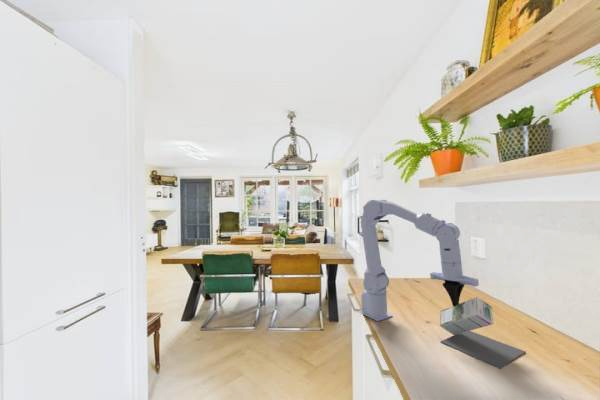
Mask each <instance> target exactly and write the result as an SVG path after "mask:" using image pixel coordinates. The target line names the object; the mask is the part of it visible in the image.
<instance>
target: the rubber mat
mask: <svg viewBox="0 0 600 400" xmlns="http://www.w3.org/2000/svg"><path fill="white" fill-rule="evenodd" d="M440 343H442V344H444V345H446V346H448V347H451V348H453V349H454V350H458V351H460V352H461V353H464V354H465V355H466V354H467V355H468V356H470V357H473V358H476V359H477V360H480V361H482V362H484V363H486V364H489V365H491V366H493V367H496V368H497V369H502V368H504V367H505V366H507V365H508V364H510V363H511V362H513V361H514V360H516V359H517V358H519V357H521V356H522V355H524V354H525V353H527V351H526V350H524V349H523V350H522V349H521V348H518V347H515V346H512V345H509V344H507V343H503V342H501V341H499V340H495V339H493V338H492V337H491V338H490V337H487V336H485V335H483V334H479V333H477V332H475V331H473V330H471V331H467V332H463V333H460V334H457V335H452V336H449V337H448V338H445V339H443V340H441V341H440Z"/></svg>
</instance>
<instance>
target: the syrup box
mask: <svg viewBox="0 0 600 400" xmlns="http://www.w3.org/2000/svg"><path fill="white" fill-rule="evenodd" d="M439 319H440V320H439V326H440V327H441V328H443V330H445V331H446V332H448V333H450V334H452V336H454V335H457V334H460V333H463V332H467V331H473V330H474V331H475V330H477V329H480V328H481V329H482V328H485V327H488V326H492V325H494V323H495V322H494V315H493V307H492V306H491V305H490V304H489V303H488V302H485V301H484V300H482V299H481V298H479V297H473V298H470V299H468V300H466V301H463V302H461V303H460V302H459V304H457V305H456V306H453V305H452V306H449V307H446V308H444V309H442V310H440V317H439Z"/></svg>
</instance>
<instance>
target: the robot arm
mask: <svg viewBox="0 0 600 400" xmlns="http://www.w3.org/2000/svg"><path fill="white" fill-rule="evenodd" d="M362 209H363V212H362V215H361V219H360V227H361V228H360V229H361V233H362V234H361V235H362V241H363V246H364V255H365V263H366V269H365V270H364V273H363V276H364V277H363V278H364V279H363V283H362V285H363V289H364V290H363V291H362V293H361V297H360V300H361V311H360V312H359V313H360V314H362V315H364V316H366V317H368V318H370V319H372V320H374V321H377V322H379V321H382V320H385V319H388V318H389V319H390V318H391V317H393V314H391V313H389V312H388V298H387V297H388V296H387V293H388V292H387V288H388V286H389V284H390V279H389V277H388V275H387V272H386V269H385V267H384V266H382V261H381V253H380V247H379V239H378V234H377V233H378V232H377V227H376V225H377V224H378V223H379V222H380V221H381V219H383V218H384V217H386V216H389V215H393V216H396V217H398V218H401V219H403V220H406V221H408V222H410V223H413V224H414V226H415V228H416V229H417V230H420V231H422V232H424V233H426V234H427V235H430V236H432V237H435V238H436V240H437V241H438V242H439V255H440V265H441V272H435V271H434V272H430V273H429V277H430V279H431V280H437V281H444V282H442V287H443V288H444V289H445V291H446V292H447V294H448V296H449V298H450V300H451V304H452V306H456V305H457V304H460V297H461V294H462V291H463V288H464V286H465V285H467V286H471V287H473V288H474V287H479V285H480V284H479V278H474V277H471V276H467V275H464V274H463V264H462V255H461V248H460V242H459V241H460V240H459V238H460V236H461V235H460V234H461V231H460V228H459V227H458V226H457V225H456V224H454V223H453V222H447V220H444V219H438V218H436V217H434V216H432V214H431V213H429V212H427V213H425V212H424V213H420V214H417V213H415V212H413V211H411V210H409V209H407V208H405V207H403V206H401V205H399V204H397V203H395V202H393V201H388V200H386V199H377V200H376V199H371V200H368V201H367V202H366V203H365V204H364V206H363V207H362ZM446 222H447V223H446Z"/></svg>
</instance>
